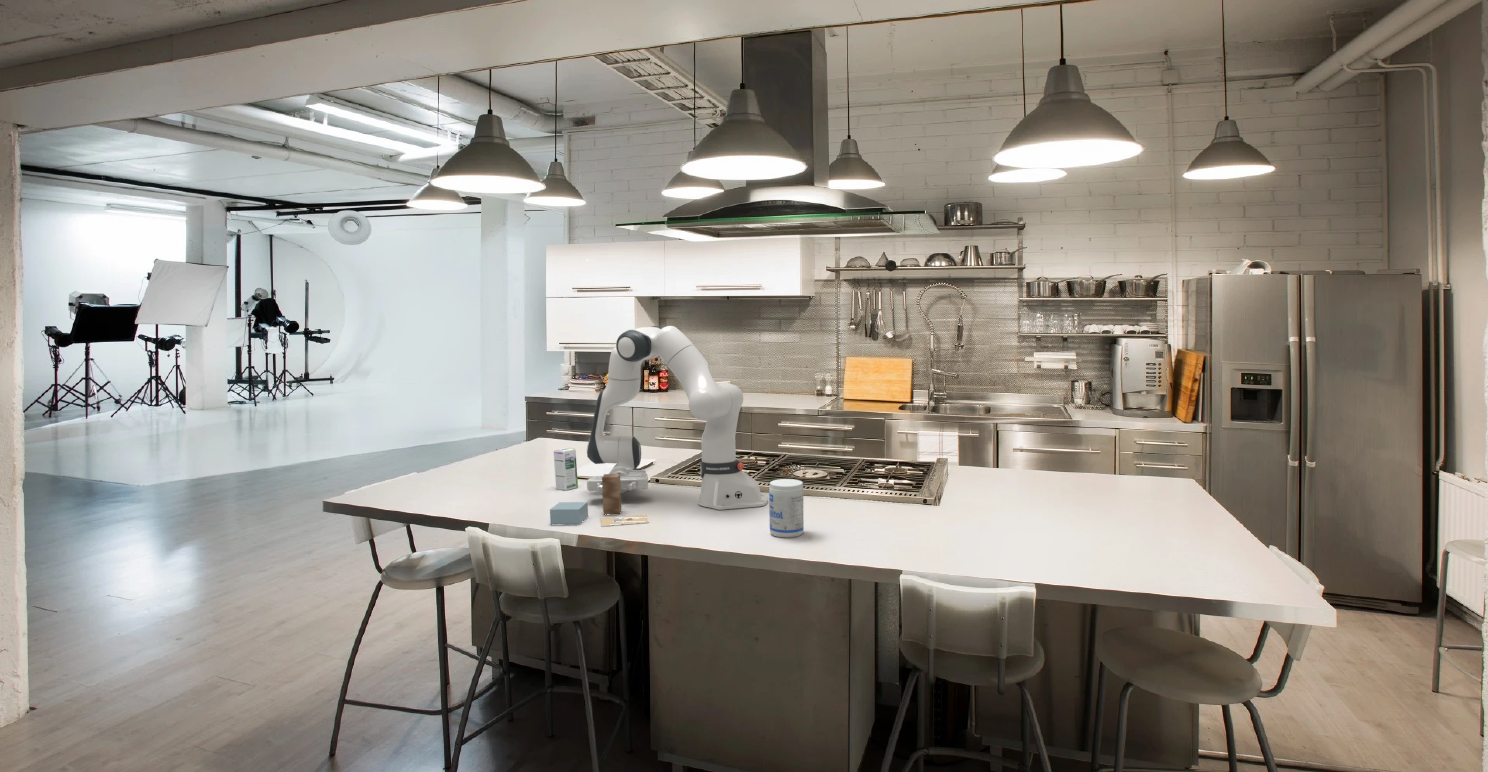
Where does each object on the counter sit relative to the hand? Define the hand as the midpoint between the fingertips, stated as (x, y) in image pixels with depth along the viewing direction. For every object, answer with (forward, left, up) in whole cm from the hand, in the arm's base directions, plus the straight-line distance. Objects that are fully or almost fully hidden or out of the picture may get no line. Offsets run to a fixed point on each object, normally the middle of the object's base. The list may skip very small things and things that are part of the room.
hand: (614, 488), depth 258 cm
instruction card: (-5, +17, -6) cm, 19 cm away
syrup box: (+22, -31, -7) cm, 39 cm away
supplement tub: (-53, +37, -7) cm, 65 cm away
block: (0, +7, -7) cm, 9 cm away
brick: (+12, +15, -7) cm, 20 cm away
